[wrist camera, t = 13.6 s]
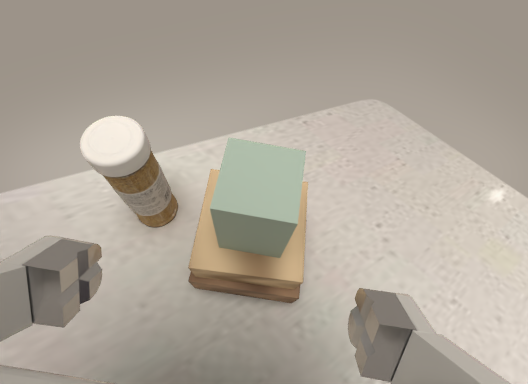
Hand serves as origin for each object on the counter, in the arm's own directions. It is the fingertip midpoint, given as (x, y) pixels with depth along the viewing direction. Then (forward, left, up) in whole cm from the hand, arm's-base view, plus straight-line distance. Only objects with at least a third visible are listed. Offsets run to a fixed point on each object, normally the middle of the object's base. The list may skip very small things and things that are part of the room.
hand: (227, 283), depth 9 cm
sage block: (0, +7, -14) cm, 15 cm away
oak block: (0, +7, -18) cm, 19 cm away
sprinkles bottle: (-11, +10, -22) cm, 26 cm away
